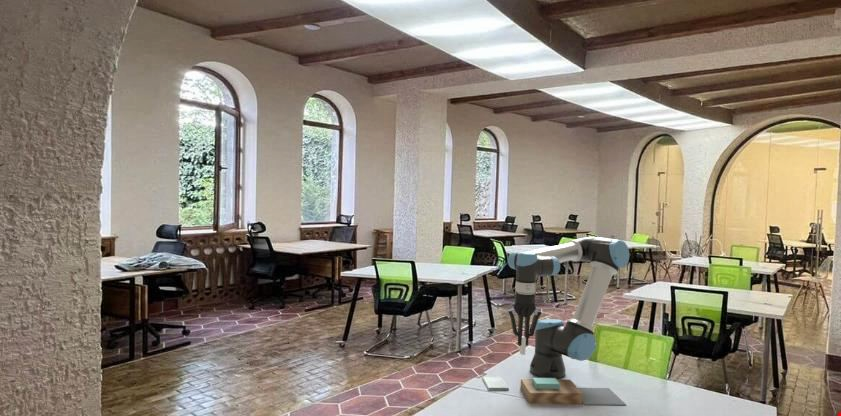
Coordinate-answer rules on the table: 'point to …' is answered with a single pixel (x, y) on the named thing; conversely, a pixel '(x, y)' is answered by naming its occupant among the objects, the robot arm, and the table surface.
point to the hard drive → (495, 383)
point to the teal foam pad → (545, 383)
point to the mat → (600, 397)
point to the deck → (552, 393)
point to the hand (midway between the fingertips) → (522, 353)
